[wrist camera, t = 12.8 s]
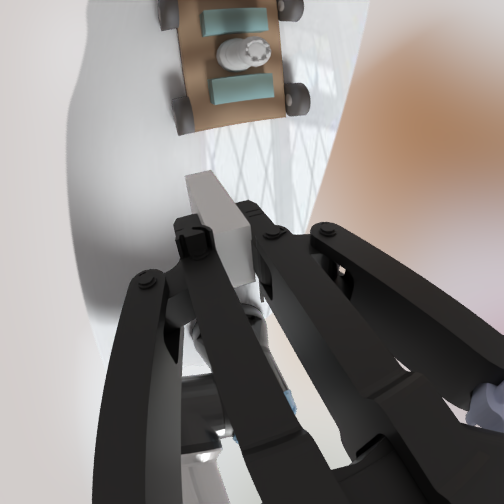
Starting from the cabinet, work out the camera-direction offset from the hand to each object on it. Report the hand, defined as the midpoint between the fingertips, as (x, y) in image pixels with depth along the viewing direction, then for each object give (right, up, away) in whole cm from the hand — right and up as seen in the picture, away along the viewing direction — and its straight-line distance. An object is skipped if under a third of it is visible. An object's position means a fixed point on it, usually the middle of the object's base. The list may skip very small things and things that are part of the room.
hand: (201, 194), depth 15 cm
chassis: (0, +20, +12) cm, 23 cm away
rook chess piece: (+1, +20, +11) cm, 22 cm away
